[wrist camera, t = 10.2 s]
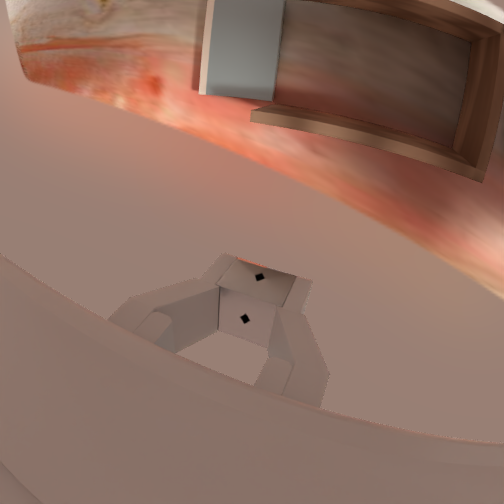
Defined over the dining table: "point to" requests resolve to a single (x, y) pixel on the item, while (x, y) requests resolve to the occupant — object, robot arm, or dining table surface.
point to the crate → (473, 106)
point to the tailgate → (241, 48)
